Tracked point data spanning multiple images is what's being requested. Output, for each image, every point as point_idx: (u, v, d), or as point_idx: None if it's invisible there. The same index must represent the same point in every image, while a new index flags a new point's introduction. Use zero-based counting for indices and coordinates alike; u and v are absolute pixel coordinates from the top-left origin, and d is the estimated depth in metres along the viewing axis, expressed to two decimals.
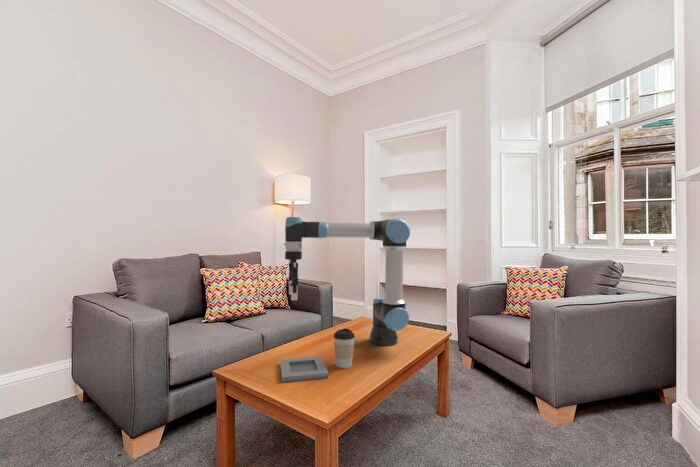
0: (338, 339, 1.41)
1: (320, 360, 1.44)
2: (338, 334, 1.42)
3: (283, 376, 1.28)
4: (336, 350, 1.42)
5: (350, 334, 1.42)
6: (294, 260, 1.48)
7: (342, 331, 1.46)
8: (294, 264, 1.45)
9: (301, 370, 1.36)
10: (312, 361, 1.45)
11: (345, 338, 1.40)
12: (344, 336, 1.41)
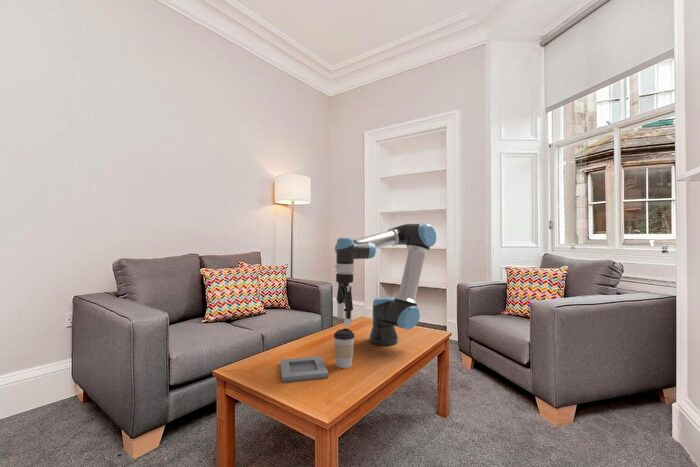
0: (338, 339, 1.41)
1: (320, 360, 1.44)
2: (338, 334, 1.42)
3: (283, 376, 1.28)
4: (336, 350, 1.42)
5: (350, 334, 1.42)
6: (347, 283, 1.41)
7: (342, 331, 1.46)
8: (348, 288, 1.38)
9: (301, 370, 1.36)
10: (312, 361, 1.45)
11: (345, 338, 1.40)
12: (344, 336, 1.41)
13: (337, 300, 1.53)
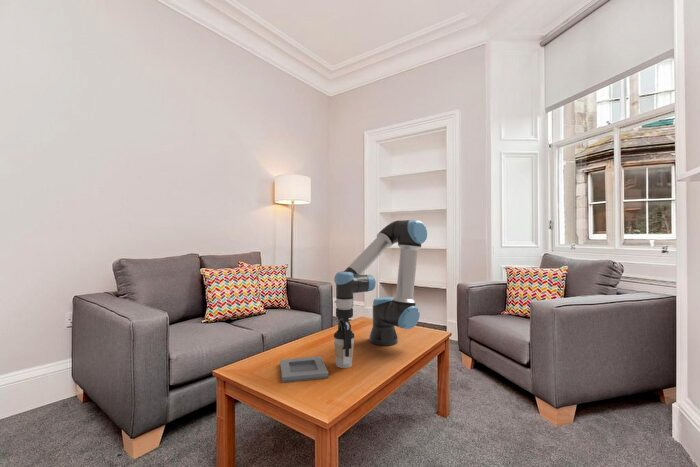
0: (338, 339, 1.41)
1: (320, 360, 1.44)
2: (338, 334, 1.42)
3: (283, 376, 1.28)
4: (336, 350, 1.42)
5: None
6: (346, 319, 1.41)
7: None
8: (347, 327, 1.38)
9: (301, 370, 1.36)
10: (312, 361, 1.45)
11: None
12: None
13: None
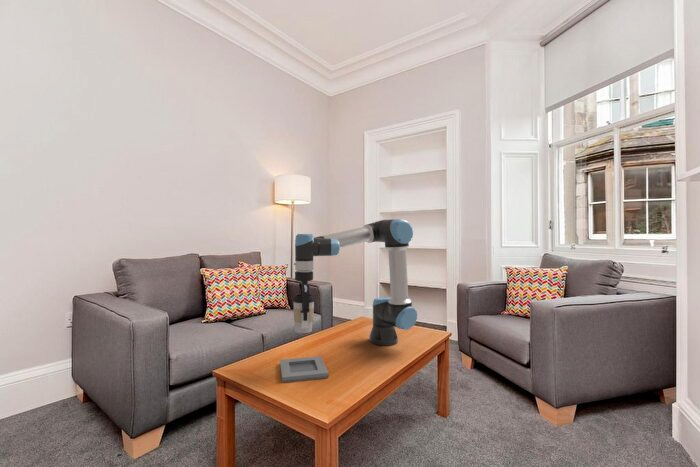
0: (296, 303, 1.34)
1: (320, 360, 1.44)
2: (297, 298, 1.35)
3: (283, 376, 1.28)
4: (294, 314, 1.36)
5: (309, 298, 1.36)
6: (305, 282, 1.34)
7: None
8: (305, 289, 1.31)
9: (301, 370, 1.36)
10: (312, 361, 1.45)
11: None
12: None
13: None
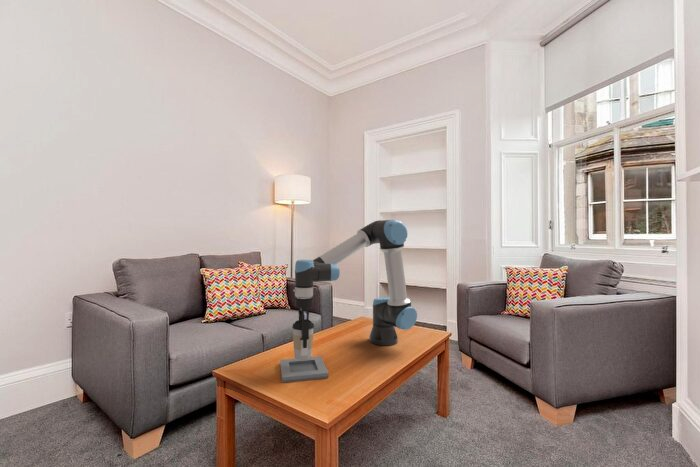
0: (296, 329, 1.34)
1: (320, 360, 1.44)
2: (296, 324, 1.35)
3: (283, 376, 1.28)
4: (294, 341, 1.36)
5: (309, 324, 1.36)
6: (305, 308, 1.34)
7: None
8: (305, 316, 1.31)
9: (301, 370, 1.36)
10: (312, 361, 1.45)
11: None
12: None
13: None
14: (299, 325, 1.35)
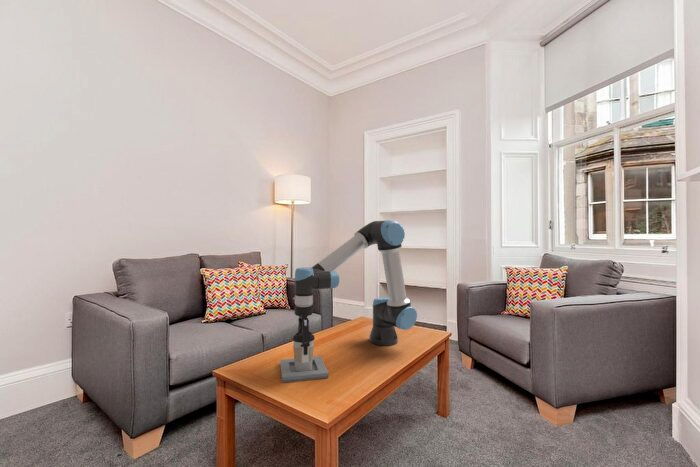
0: (296, 342, 1.34)
1: (320, 360, 1.44)
2: (297, 336, 1.35)
3: (283, 376, 1.28)
4: (294, 353, 1.36)
5: (309, 336, 1.36)
6: (305, 317, 1.34)
7: None
8: (305, 322, 1.31)
9: None
10: (312, 361, 1.45)
11: None
12: None
13: (298, 331, 1.46)
14: (299, 337, 1.35)
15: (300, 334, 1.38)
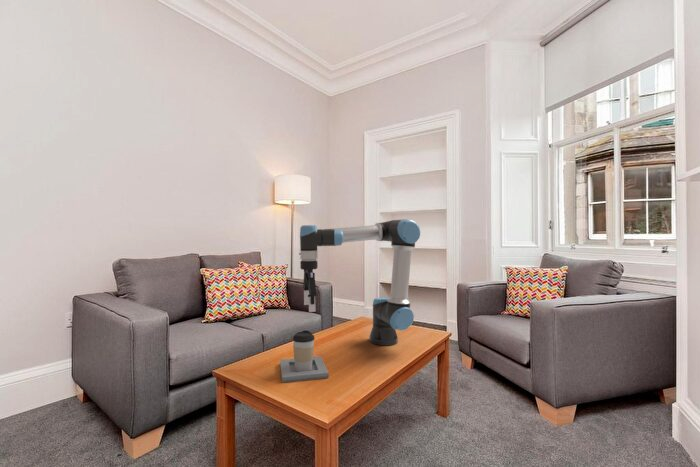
0: (296, 342, 1.34)
1: (320, 360, 1.44)
2: (297, 336, 1.35)
3: (283, 376, 1.28)
4: (294, 353, 1.36)
5: (309, 336, 1.36)
6: (310, 270, 1.43)
7: (302, 333, 1.39)
8: (311, 274, 1.40)
9: None
10: (312, 361, 1.45)
11: (303, 341, 1.34)
12: (302, 339, 1.34)
13: (303, 287, 1.55)
14: (299, 337, 1.35)
15: (300, 334, 1.38)
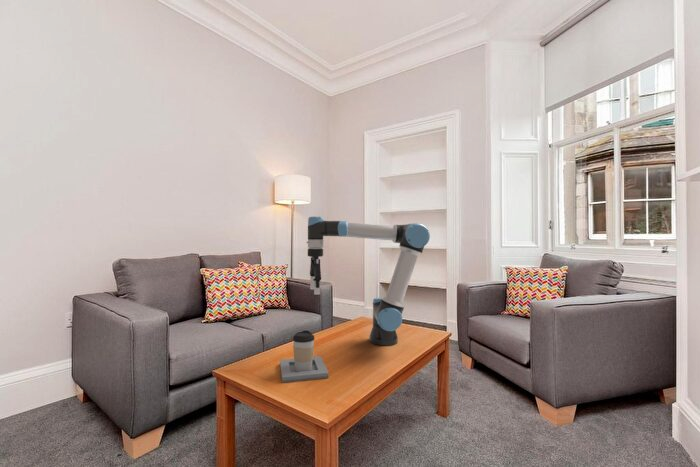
0: (296, 342, 1.34)
1: (320, 360, 1.44)
2: (297, 336, 1.35)
3: (283, 376, 1.28)
4: (294, 353, 1.36)
5: (309, 336, 1.36)
6: (316, 257, 1.58)
7: (302, 333, 1.39)
8: (317, 261, 1.54)
9: None
10: (312, 361, 1.45)
11: (303, 341, 1.34)
12: (302, 339, 1.34)
13: None
14: (299, 337, 1.35)
15: (300, 334, 1.38)
